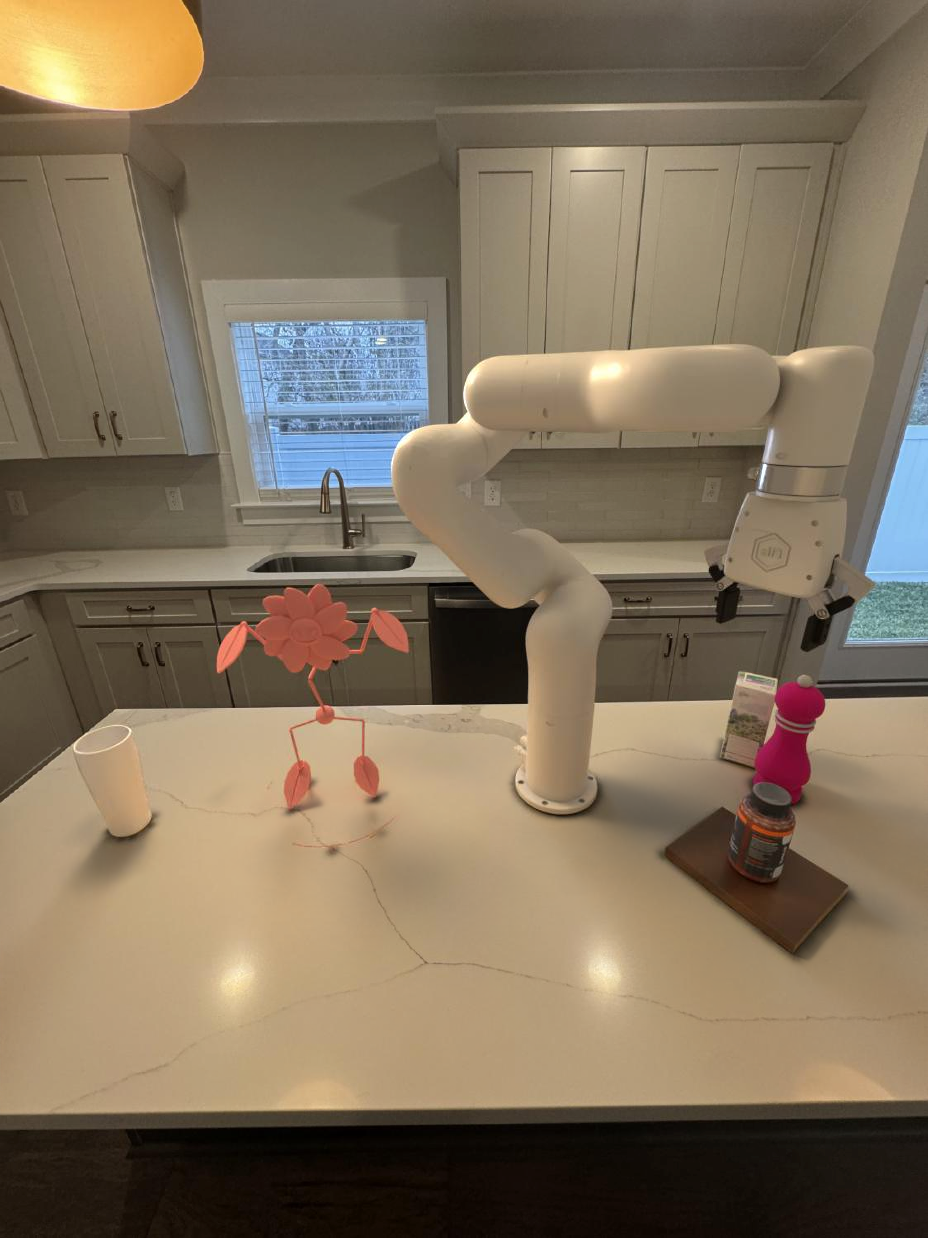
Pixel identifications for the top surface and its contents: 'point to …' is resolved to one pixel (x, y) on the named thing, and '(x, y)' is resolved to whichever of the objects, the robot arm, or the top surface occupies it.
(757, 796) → the supplement bottle
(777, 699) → the pepper mill
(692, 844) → the cutting board
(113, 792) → the drinking glass
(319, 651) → the figurine
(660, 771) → the top surface
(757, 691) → the syrup box
